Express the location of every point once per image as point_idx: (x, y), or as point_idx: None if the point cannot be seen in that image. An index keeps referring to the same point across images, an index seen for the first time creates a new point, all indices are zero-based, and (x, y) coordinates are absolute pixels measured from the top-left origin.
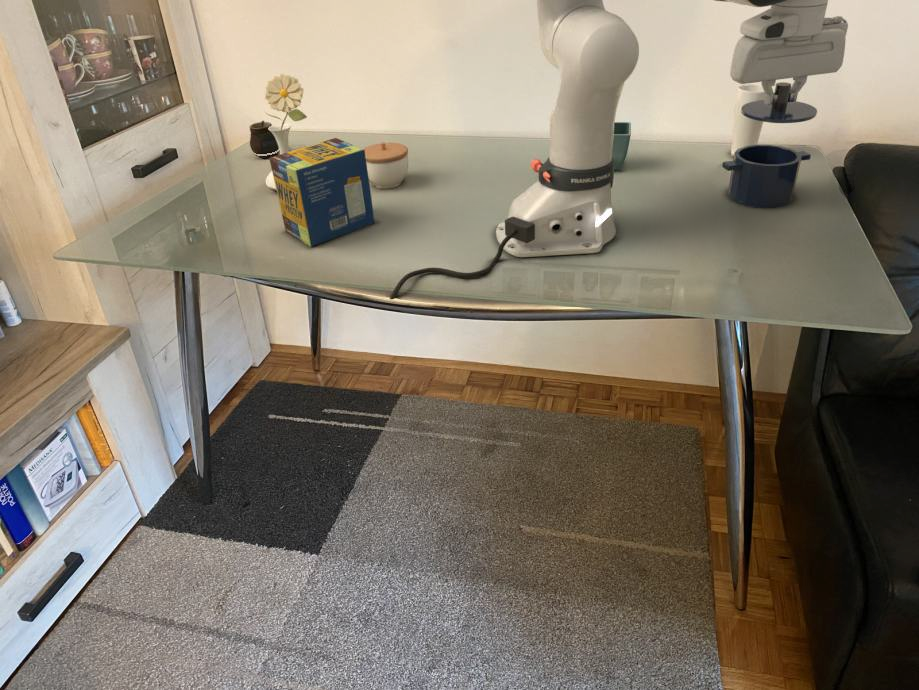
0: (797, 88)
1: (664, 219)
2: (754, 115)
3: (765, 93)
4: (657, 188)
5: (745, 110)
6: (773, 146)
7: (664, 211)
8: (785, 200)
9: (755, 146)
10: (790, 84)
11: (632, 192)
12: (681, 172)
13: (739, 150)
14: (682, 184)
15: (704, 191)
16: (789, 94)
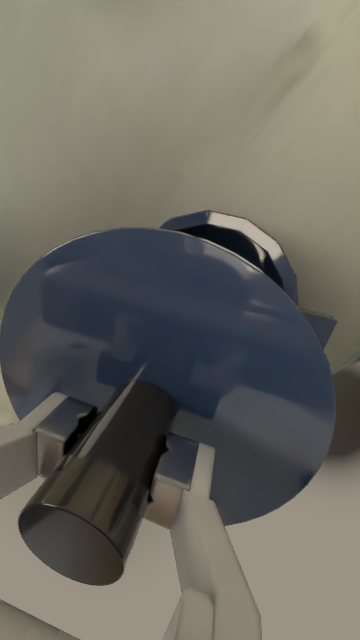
0: (178, 564)
1: (24, 267)
2: (13, 395)
3: (16, 424)
4: (66, 127)
5: (13, 327)
6: (274, 264)
7: (35, 241)
8: None
9: (232, 229)
10: (104, 581)
11: (14, 120)
12: (167, 44)
13: None
14: (123, 134)
15: (141, 200)
16: (150, 497)
